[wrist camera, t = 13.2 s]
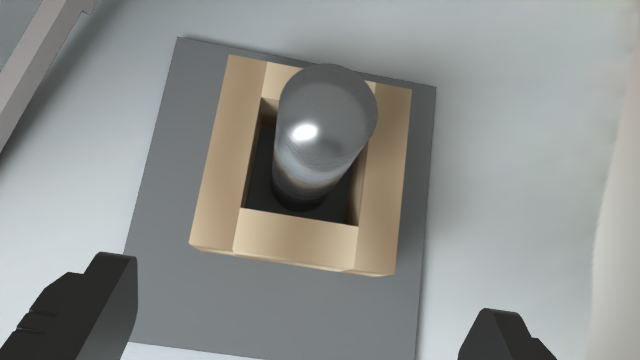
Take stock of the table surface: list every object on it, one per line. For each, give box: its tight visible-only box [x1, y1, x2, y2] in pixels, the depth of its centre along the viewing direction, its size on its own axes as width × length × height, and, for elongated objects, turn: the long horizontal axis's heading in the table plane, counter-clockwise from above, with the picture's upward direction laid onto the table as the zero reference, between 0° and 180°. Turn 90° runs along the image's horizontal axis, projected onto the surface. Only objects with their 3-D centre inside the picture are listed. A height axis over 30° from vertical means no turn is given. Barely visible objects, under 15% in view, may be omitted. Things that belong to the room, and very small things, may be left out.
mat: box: [123, 37, 436, 360], centre depth 24 cm, size 15×16×1 cm
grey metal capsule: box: [270, 64, 378, 212], centre depth 19 cm, size 3×3×10 cm
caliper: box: [0, 0, 97, 153], centre depth 21 cm, size 20×1×6 cm, turn 155°
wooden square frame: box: [189, 54, 412, 277], centre depth 22 cm, size 9×9×4 cm
